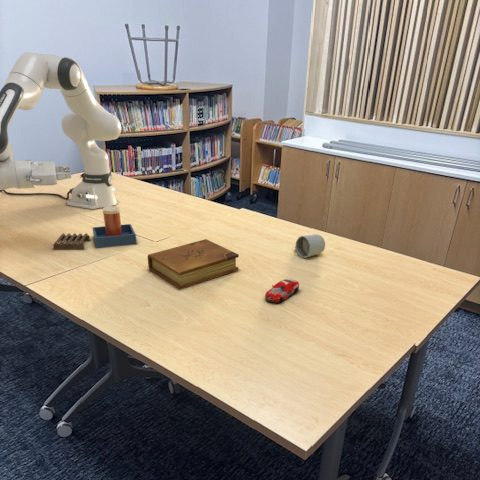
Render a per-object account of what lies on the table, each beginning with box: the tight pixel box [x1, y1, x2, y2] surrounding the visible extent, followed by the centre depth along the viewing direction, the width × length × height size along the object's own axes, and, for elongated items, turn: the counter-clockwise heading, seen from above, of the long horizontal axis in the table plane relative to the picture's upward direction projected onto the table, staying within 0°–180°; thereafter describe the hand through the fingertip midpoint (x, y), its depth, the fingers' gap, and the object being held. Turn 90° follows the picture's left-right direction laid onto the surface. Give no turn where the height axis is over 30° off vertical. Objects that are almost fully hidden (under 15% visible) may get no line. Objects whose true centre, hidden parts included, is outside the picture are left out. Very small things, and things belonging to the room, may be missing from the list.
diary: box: [147, 238, 240, 290], centre depth 156 cm, size 23×19×6 cm
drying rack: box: [52, 232, 91, 250], centre depth 175 cm, size 10×10×2 cm
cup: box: [102, 205, 122, 237], centre depth 177 cm, size 6×6×12 cm
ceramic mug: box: [294, 233, 326, 259], centre depth 170 cm, size 11×8×8 cm
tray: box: [92, 223, 138, 249], centre depth 179 cm, size 14×12×4 cm
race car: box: [264, 278, 300, 304], centre depth 141 cm, size 13×5×4 cm, turn 140°
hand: (70, 172), depth 164 cm, fingers open, 8 cm apart
